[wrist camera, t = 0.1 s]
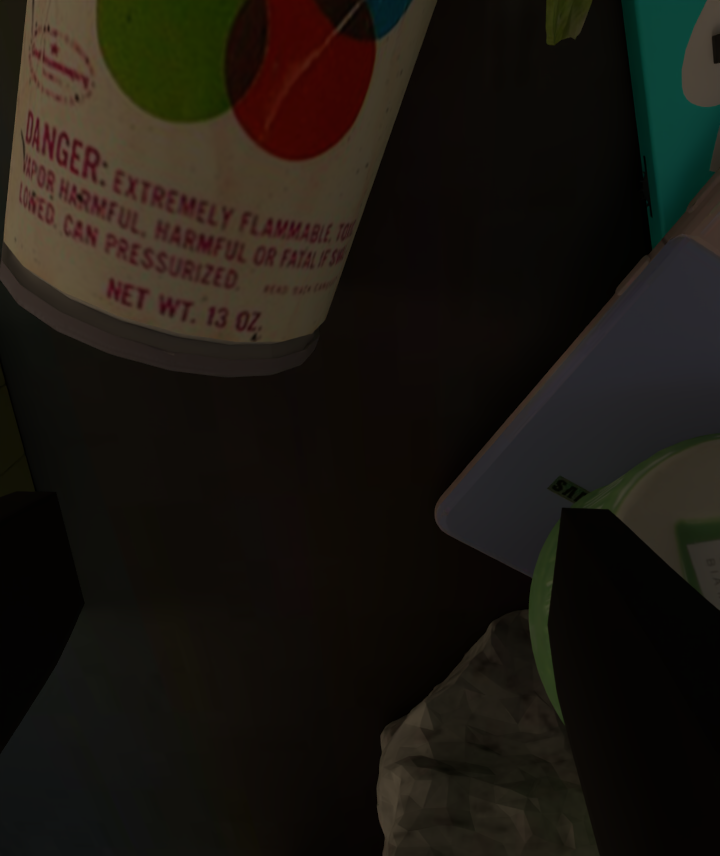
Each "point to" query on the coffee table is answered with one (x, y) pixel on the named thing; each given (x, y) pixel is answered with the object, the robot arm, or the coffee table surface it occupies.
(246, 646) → the coffee table surface
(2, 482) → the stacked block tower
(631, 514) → the ramekin
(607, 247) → the coffee table surface
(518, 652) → the decorative stone
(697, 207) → the smartphone
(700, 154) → the teal bent strip
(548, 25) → the leaf
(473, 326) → the coffee table surface
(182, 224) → the aerosol can
